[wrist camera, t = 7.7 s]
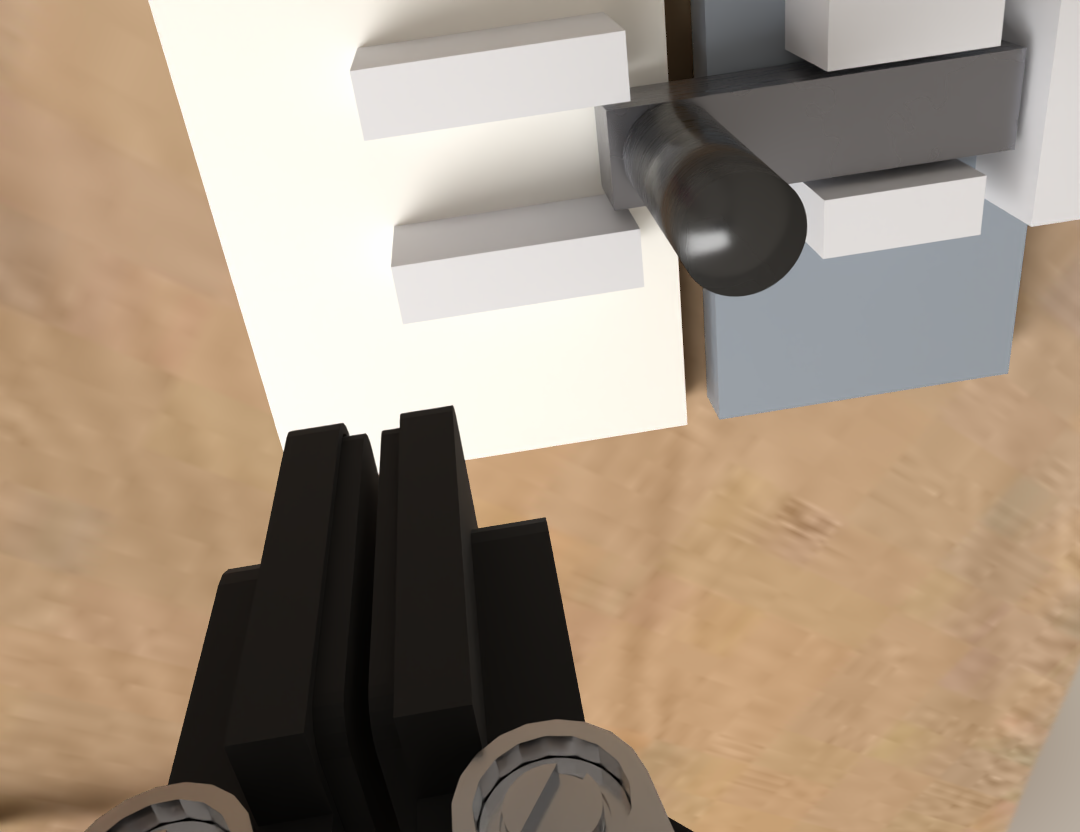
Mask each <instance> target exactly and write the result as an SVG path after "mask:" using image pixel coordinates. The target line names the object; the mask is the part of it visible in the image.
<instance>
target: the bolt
mask: <svg viewBox="0 0 1080 832" xmlns="http://www.w3.org/2000/svg"><path fill="white" fill-rule="evenodd" d="M1026 51H1027V48H1026V47H1023V46H1020V45H1016V44H1013V43H1010V42H1007V41H1004V40H1001V46H995V47H989V48H982V49H975V50H968V51H962V52H955V53H948V54H942V55H935V56H928V57H922V58H915V59H908V60H902V61H895V62H888V63H882V64H875V65H868V66H862V67H855V68H848V69H842V70H835V71H828V72H827V71H825V70H823V69H822V68H820V67H818V66H816V65H814V64H812V63H810V62H808V61H804V62H798V63H791V64H784V65H778V66H771V67H764V68H757V69H751V70H744V71H737V72H731V73H724V74H717V75H711V76H704V77H697V78H691V79H684V80H677V81H670V82H664V83H657V84H650V85H644V86H637V87H630V101H628V102H621V103H615V104H608V105H601V106H595V107H594V109H595V120H596V130H597V141H598V152H599V163H600V174H601V184H602V188H603V190H604V192H605V194H606V196H607V198H608V199H609V201H610V203H611V205H612V207H613V209H614V210H615V211H616V210H623V209H629V208H636V207H642V206H646V207H647V209H648V210H649V212H650V213H651V215H652V217H653V218H654V220H655V221H656V223H657V224H658V226H659V227H660V229H661V231H662V232H663V234H664V235H665V237H666V238H667V240H668V241H669V243H670V245H671V246H672V248H673V249H674V251H675V252H676V254H677V255H678V257H679V259H680V260H681V262H682V263H683V265H684V266H685V268H686V269H687V271H688V273H689V274H690V275H691V277H692V278H693V279H694V280H695V281H696V282H697V283H698V284H699V285H700V286H702V287H703V288H705V289H706V290H708V291H711V292H713V293H715V294H719V295H723V296H729V297H740V296H747V295H752V294H755V293H758V292H761V291H763V290H765V289H767V288H769V287H771V286H772V285H774V284H776V283H777V282H778V281H779V280H781V279H782V278H783V277H784V276H785V275H786V274H787V273H788V272H789V271H790V270H791V269H792V267H793V266H794V265H795V263H796V262H797V260H798V258H799V256H800V254H801V252H802V250H803V247H804V244H805V241H806V236H807V216H806V211H805V208H804V205H803V203H802V201H801V199H800V197H799V196H798V194H797V193H796V191H795V190H794V189H793V188H792V187H791V186H790V185H789V184H793V183H799V182H806V181H812V180H819V179H825V178H832V177H838V176H845V175H851V174H858V173H865V172H871V171H878V170H884V169H891V168H897V167H904V166H910V165H917V164H923V163H930V162H936V161H943V160H949V159H956V158H963V157H969V156H976V155H982V154H989V153H995V152H1002V151H1008V150H1015V143H1016V134H1017V126H1018V118H1019V109H1020V101H1021V93H1022V84H1023V76H1024V68H1025V59H1026Z"/></svg>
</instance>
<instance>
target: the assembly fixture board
mask: <svg viewBox="0 0 1080 832" xmlns="http://www.w3.org/2000/svg"><path fill="white" fill-rule="evenodd" d="M148 1H149V4H150V8H151V11H152V14H153V18H154V21H155V24H156V28H157V31H158V34H159V38H160V41H161V44H162V48H163V51H164V54H165V58H166V61H167V64H168V68H169V71H170V74H171V78H172V81H173V84H174V88H175V91H176V94H177V98H178V101H179V104H180V108H181V111H182V114H183V118H184V121H185V125H186V128H187V131H188V135H189V138H190V141H191V145H192V148H193V151H194V155H195V158H196V161H197V165H198V168H199V171H200V175H201V178H202V181H203V185H204V188H205V191H206V195H207V198H208V201H209V205H210V208H211V211H212V215H213V218H214V221H215V225H216V228H217V231H218V235H219V238H220V241H221V245H222V248H223V251H224V255H225V258H226V261H227V265H228V268H229V272H230V275H231V278H232V282H233V285H234V288H235V292H236V295H237V298H238V302H239V305H240V308H241V312H242V315H243V318H244V322H245V325H246V328H247V332H248V335H249V338H250V342H251V345H252V348H253V352H254V355H255V358H256V362H257V365H258V368H259V372H260V375H261V378H262V382H263V385H264V388H265V392H266V395H267V398H268V402H269V405H270V409H271V412H272V415H273V419H274V422H275V425H276V429H277V432H278V435H279V439H280V442H281V445H282V449H283V452H284V447H285V442H286V437H287V435H288V432H290V431H294V430H300V429H306V428H313V427H319V426H325V425H332V424H338V423H344V424H345V425H346V427H347V430H348V432H349V435H350V436H351V435H358V434H364V433H366V434H367V435H368V438H369V440H370V443H371V447H372V451H373V455H374V459H375V463H376V467H377V471H378V474H379V467H380V447H381V433H382V431H383V430H389V429H395V428H400V414H401V413H407V412H413V411H419V410H426V409H432V408H438V407H444V406H451V405H453V406H454V409H455V413H456V418H457V423H458V428H459V433H460V438H461V443H462V448H463V453H464V459H465V460H469V459H476V458H482V457H488V456H494V455H501V454H507V453H513V452H519V451H526V450H532V449H538V448H544V447H551V446H557V445H563V444H570V443H576V442H582V441H588V440H595V439H601V438H607V437H613V436H620V435H626V434H632V433H638V432H645V431H651V430H657V429H663V428H670V427H676V426H682V425H687V410H686V392H685V374H684V356H683V337H682V319H681V301H680V283H679V265H678V255H677V254H676V252H675V251H674V249H673V248H672V246H671V245H670V243H669V241H668V240H667V238H666V237H665V235H664V234H663V232H662V231H661V229H660V227H659V226H658V224H657V223H656V221H655V220H654V218H653V217H652V215H651V213H650V212H649V210H648V209H647V207H646V206H642V207H636V208H629V209H623V210H616V211H615V210H614V209H613V207H612V205H611V203H610V201H609V199H608V198H607V196H606V194H605V192H604V190H603V188H602V184H601V174H600V163H599V152H598V141H597V130H596V120H595V109H594V107H595V106H601V105H608V104H615V103H621V102H628V101H630V87H637V86H644V85H650V84H657V83H664V82H668V65H667V47H666V29H665V10H664V0H148ZM690 1H691V24H692V48H693V71H694V78H697V77H704V76H711V75H717V74H724V73H731V72H737V71H744V70H751V69H757V68H764V67H771V66H778V65H784V64H791V63H798V62H804V61H808V62H810V63H812V64H814V65H816V66H818V67H820V68H822V69H823V70H825V71H827V72H828V71H835V70H842V69H848V68H855V67H862V66H868V65H875V64H882V63H888V62H895V61H902V60H908V59H915V58H922V57H928V56H935V55H942V54H948V53H955V52H962V51H968V50H975V49H982V48H989V47H995V46H1001V40H1004V41H1007V42H1010V43H1013V44H1016V45H1020V46H1023V47H1026V48H1027V51H1026V59H1025V68H1024V76H1023V84H1022V93H1021V101H1020V109H1019V118H1018V126H1017V134H1016V143H1015V150H1008V151H1002V152H995V153H989V154H982V155H976V156H969V157H963V158H956V159H949V160H943V161H936V162H930V163H923V164H917V165H910V166H904V167H897V168H891V169H884V170H878V171H871V172H865V173H858V174H851V175H845V176H838V177H832V178H825V179H819V180H812V181H806V182H799V183H793V184H789V185H790V186H791V187H792V188H793V189H794V190H795V191H796V193H797V194H798V196H799V197H800V199H801V201H802V203H803V205H804V208H805V211H806V216H807V236H806V241H805V244H804V247H803V250H802V252H801V254H800V256H799V258H798V260H797V262H796V263H795V265H794V266H793V267H792V269H791V270H790V271H789V272H788V273H787V274H786V275H785V276H784V277H783V278H782V279H781V280H779V281H778V282H777V283H776V284H774V285H772V286H771V287H769V288H767V289H765V290H763V291H761V292H758V293H755V294H752V295H747V296H740V297H729V296H723V295H719V294H715V293H713V292H711V291H708V290H706V289H705V288H703V307H704V330H705V354H706V377H707V397H708V398H709V400H710V402H711V404H712V406H713V408H714V410H715V412H716V414H717V415H718V417H719V419H726V418H732V417H738V416H745V415H751V414H757V413H764V412H770V411H776V410H782V409H789V408H795V407H801V406H807V405H814V404H820V403H826V402H832V401H839V400H845V399H851V398H857V397H864V396H870V395H876V394H882V393H889V392H895V391H901V390H907V389H914V388H920V387H926V386H932V385H939V384H945V383H951V382H957V381H964V380H970V379H976V378H983V377H989V376H995V375H1001V374H1008V369H1009V362H1010V354H1011V347H1012V339H1013V331H1014V324H1015V316H1016V308H1017V301H1018V293H1019V286H1020V278H1021V270H1022V263H1023V255H1024V247H1025V240H1026V232H1027V225H1029V226H1031V227H1033V226H1039V225H1046V224H1052V223H1059V222H1065V221H1072V220H1078V219H1080V0H690Z"/></svg>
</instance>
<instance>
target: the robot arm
mask: <svg viewBox="0 0 1080 832" xmlns="http://www.w3.org/2000/svg"><path fill="white" fill-rule="evenodd" d="M84 832H693V831H691V830H690V829H688V828H686V827H684V826H683V825H681V824H679V823H677V822H676V821H674V820H672V819H671V818H669V817H668V816H667V814H666V812H665V809H664V807H663V805H662V802H661V800H660V798H659V796H658V793H657V791H656V789H655V787H654V784H653V782H652V780H651V777H650V775H649V773H648V771H647V769H646V768H645V766H644V765H643V763H642V762H641V760H640V759H639V757H638V756H637V754H636V753H635V751H634V750H633V748H632V747H630V746H629V745H628V744H626V743H625V742H624V741H622V740H621V739H620V738H618V737H617V736H616V735H615V734H613V733H612V732H611V731H608V730H605V729H602V728H600V727H597V726H594V725H592V724H589V723H586V722H585V719H584V714H583V709H582V704H581V698H580V693H579V688H578V683H577V677H576V672H575V667H574V662H573V656H572V651H571V646H570V641H569V635H568V630H567V625H566V620H565V614H564V609H563V604H562V599H561V594H560V588H559V583H558V578H557V573H556V567H555V562H554V557H553V552H552V546H551V541H550V536H549V531H548V526H547V521H546V517H545V518H539V519H533V520H527V521H521V522H515V523H509V524H502V525H496V526H490V527H484V528H478V526H477V521H476V516H475V510H474V505H473V500H472V495H471V490H470V485H469V479H468V474H467V469H466V464H465V459H464V453H463V448H462V443H461V438H460V433H459V428H458V423H457V418H456V413H455V409H454V406H453V405H451V406H444V407H438V408H432V409H426V410H419V411H413V412H407V413H401V414H400V428H395V429H389V430H383V431H382V433H381V447H380V467H379V475H378V471H377V467H376V463H375V459H374V455H373V451H372V447H371V443H370V440H369V438H368V435H367V434H366V433H364V434H358V435H351V436H350V435H349V432H348V430H347V427H346V425H345V424H344V423H338V424H332V425H325V426H319V427H313V428H306V429H300V430H294V431H290V432H288V435H287V437H286V442H285V447H284V452H283V457H282V462H281V467H280V472H279V477H278V481H277V486H276V491H275V496H274V501H273V506H272V511H271V516H270V521H269V526H268V531H267V535H266V540H265V545H264V550H263V555H262V560H261V564H258V565H252V566H246V567H240V568H234V569H228V570H227V571H226V572H225V573H224V574H223V575H222V577H221V580H220V583H219V585H218V589H217V593H216V597H215V601H214V605H213V609H212V613H211V617H210V621H209V625H208V629H207V632H206V636H205V640H204V644H203V648H202V652H201V656H200V660H199V664H198V668H197V672H196V676H195V680H194V684H193V688H192V692H191V696H190V700H189V704H188V708H187V711H186V715H185V719H184V723H183V727H182V731H181V735H180V739H179V743H178V747H177V751H176V755H175V759H174V763H173V767H172V771H171V775H170V779H169V783H168V785H166V786H160V787H155V788H153V789H151V790H148V791H146V792H143V793H141V794H139V795H136V796H134V797H132V798H129V799H127V800H125V801H123V802H122V803H120V804H119V805H117V806H116V807H114V808H113V809H111V810H110V811H108V812H107V813H105V814H104V815H102V816H101V817H99V818H98V819H97V820H96V821H95V822H94V823H93V824H92V825H91V826H89V827H88V828H87V829H86V830H85V831H84Z"/></svg>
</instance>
